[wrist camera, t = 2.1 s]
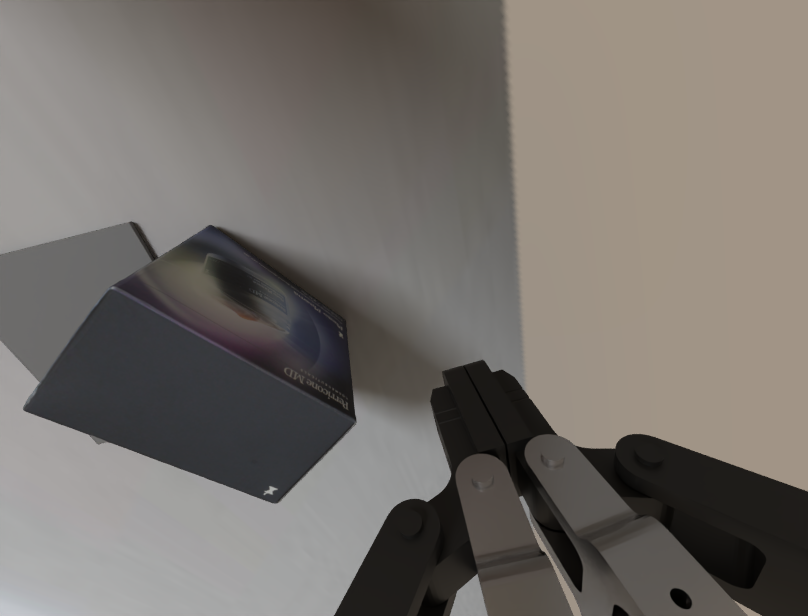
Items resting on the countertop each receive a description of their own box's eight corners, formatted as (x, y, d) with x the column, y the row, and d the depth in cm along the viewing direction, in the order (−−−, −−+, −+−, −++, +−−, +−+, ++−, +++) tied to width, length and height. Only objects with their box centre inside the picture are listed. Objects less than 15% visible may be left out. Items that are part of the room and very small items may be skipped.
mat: (-59, 269, 19) (-64, 271, 18) (131, 221, 19) (128, 222, 19) (100, 441, 25) (98, 444, 25) (239, 402, 26) (238, 404, 25)
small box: (352, 317, 24) (366, 424, 15) (296, 378, 25) (277, 511, 16) (211, 216, 20) (106, 280, 10) (151, 297, 21) (10, 418, 12)
